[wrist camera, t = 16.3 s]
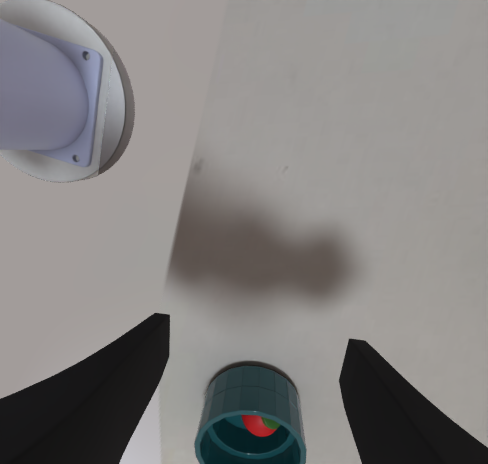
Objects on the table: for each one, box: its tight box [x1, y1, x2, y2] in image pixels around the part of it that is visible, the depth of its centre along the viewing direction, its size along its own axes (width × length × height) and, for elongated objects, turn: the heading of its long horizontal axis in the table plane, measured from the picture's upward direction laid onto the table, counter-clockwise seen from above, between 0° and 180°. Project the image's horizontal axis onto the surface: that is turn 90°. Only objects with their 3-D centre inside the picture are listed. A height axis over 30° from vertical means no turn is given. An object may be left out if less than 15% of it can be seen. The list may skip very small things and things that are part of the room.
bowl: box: [194, 366, 306, 464], centre depth 21 cm, size 8×8×4 cm
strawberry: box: [241, 415, 280, 437], centre depth 21 cm, size 3×3×4 cm
